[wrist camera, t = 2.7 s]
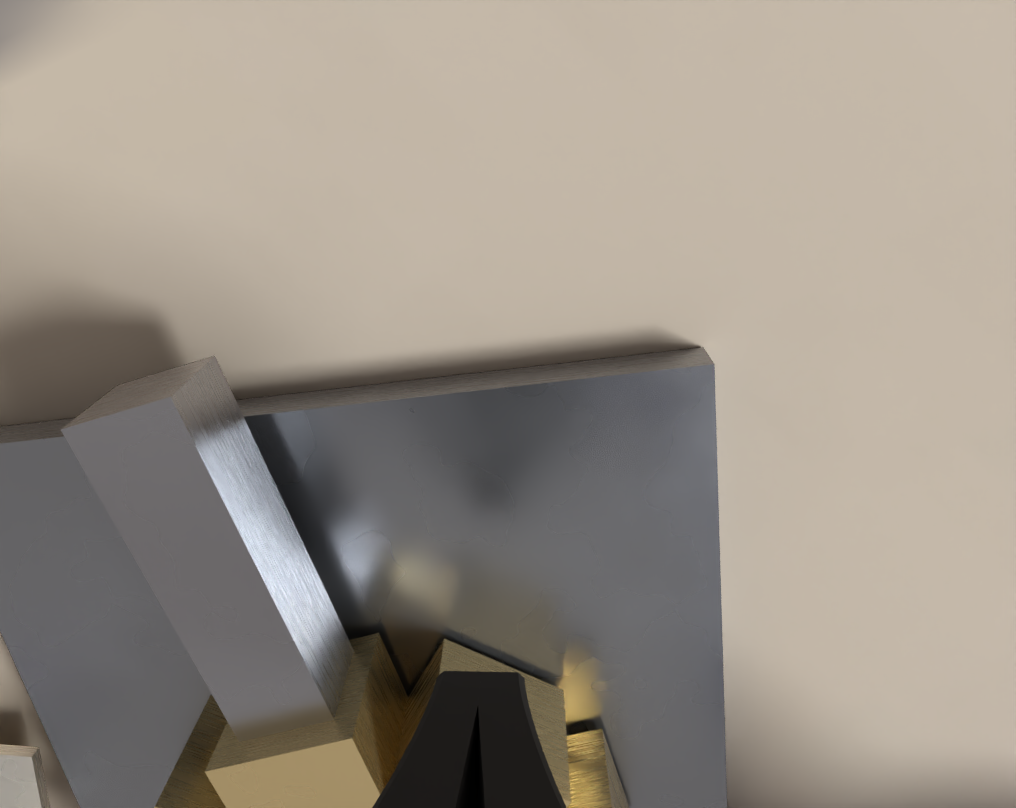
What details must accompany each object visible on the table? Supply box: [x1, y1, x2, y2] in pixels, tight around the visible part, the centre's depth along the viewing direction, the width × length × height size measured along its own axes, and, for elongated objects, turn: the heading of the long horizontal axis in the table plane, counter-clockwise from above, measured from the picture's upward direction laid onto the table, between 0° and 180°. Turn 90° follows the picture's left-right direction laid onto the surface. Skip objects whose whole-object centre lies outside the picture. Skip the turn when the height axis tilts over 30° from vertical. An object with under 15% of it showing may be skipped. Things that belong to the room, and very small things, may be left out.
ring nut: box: [61, 356, 629, 808], centre depth 17 cm, size 18×11×3 cm, turn 17°
